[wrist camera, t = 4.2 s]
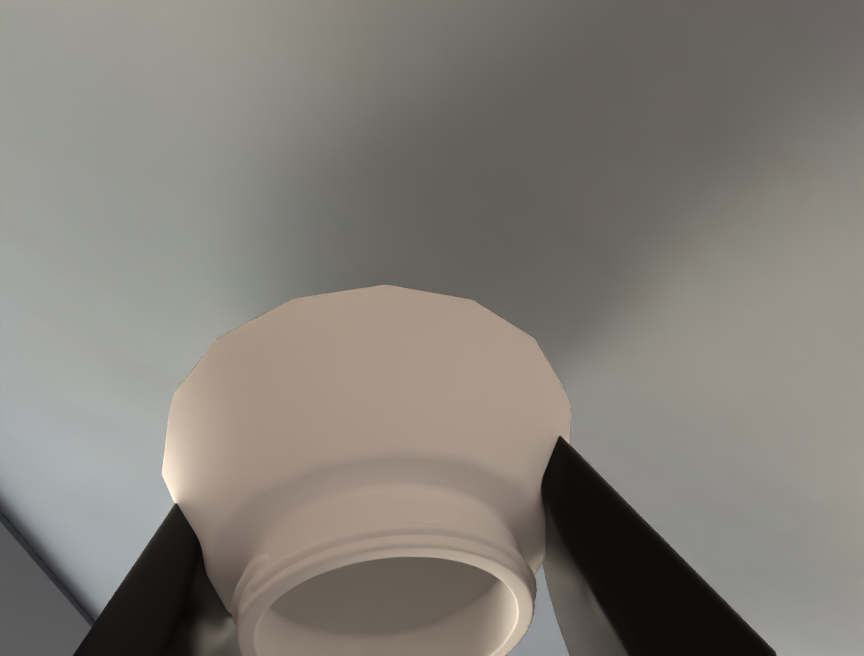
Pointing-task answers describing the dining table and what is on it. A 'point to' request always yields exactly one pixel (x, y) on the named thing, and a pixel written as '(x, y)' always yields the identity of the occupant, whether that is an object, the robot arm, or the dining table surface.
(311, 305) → the white jar
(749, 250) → the dining table surface
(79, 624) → the slate mat
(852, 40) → the dining table surface
